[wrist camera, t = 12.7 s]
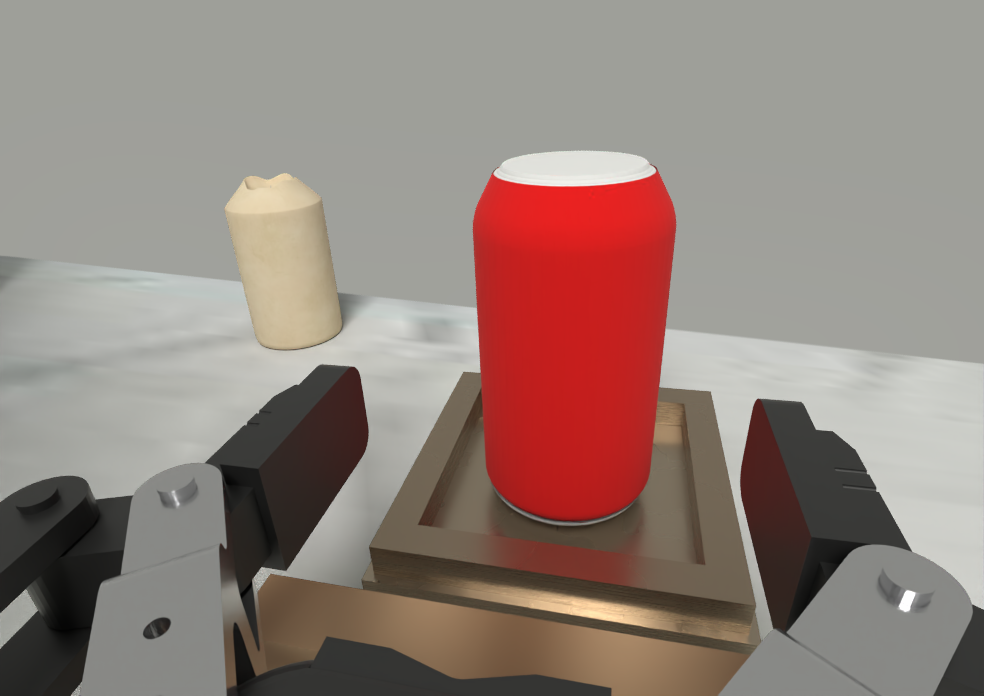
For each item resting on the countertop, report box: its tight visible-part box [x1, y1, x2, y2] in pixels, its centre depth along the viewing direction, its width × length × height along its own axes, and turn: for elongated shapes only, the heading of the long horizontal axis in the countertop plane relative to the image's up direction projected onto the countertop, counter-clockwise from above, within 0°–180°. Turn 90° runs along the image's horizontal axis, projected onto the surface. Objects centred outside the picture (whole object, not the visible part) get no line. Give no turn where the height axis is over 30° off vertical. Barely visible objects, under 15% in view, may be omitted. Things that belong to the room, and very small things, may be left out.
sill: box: [257, 574, 750, 696], centre depth 15 cm, size 14×2×2 cm, turn 77°
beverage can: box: [473, 151, 676, 526], centre depth 20 cm, size 6×6×12 cm
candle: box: [225, 173, 342, 350], centre depth 36 cm, size 6×6×10 cm
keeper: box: [362, 372, 761, 655], centre depth 22 cm, size 12×12×2 cm
